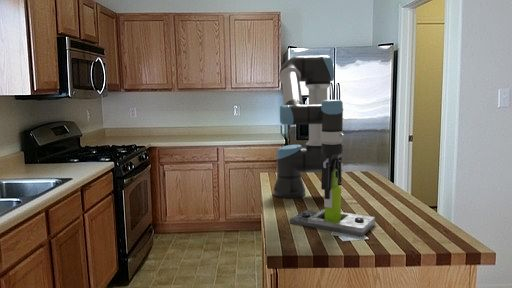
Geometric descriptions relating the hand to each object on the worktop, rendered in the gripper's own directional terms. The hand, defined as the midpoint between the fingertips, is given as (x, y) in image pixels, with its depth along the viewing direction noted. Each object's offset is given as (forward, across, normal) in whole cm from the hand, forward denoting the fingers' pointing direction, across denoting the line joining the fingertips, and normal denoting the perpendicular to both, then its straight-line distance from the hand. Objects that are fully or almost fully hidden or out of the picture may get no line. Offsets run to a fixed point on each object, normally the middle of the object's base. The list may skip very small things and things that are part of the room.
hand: (331, 204), depth 150 cm
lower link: (+7, 0, +4) cm, 8 cm away
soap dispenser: (+7, 0, 0) cm, 7 cm away
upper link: (+7, 0, -4) cm, 8 cm away
